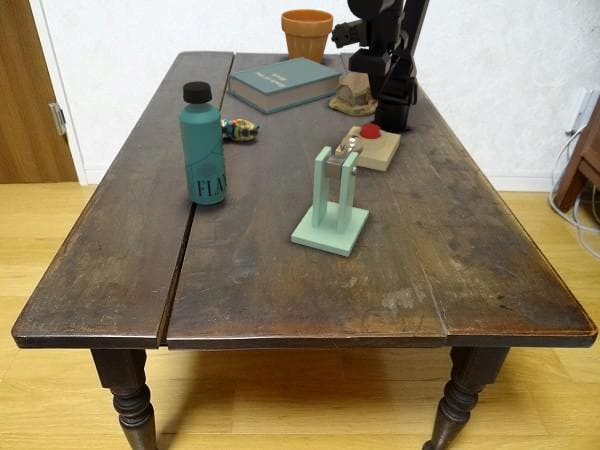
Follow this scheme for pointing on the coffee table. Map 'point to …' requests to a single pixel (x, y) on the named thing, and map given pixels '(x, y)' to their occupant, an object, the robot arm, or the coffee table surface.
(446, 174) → the coffee table surface
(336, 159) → the lever
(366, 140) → the button block
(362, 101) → the ceramic model
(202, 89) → the beverage bottle
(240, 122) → the figurine
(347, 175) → the bracket
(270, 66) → the book
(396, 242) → the coffee table surface
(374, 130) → the button
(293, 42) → the flower pot
